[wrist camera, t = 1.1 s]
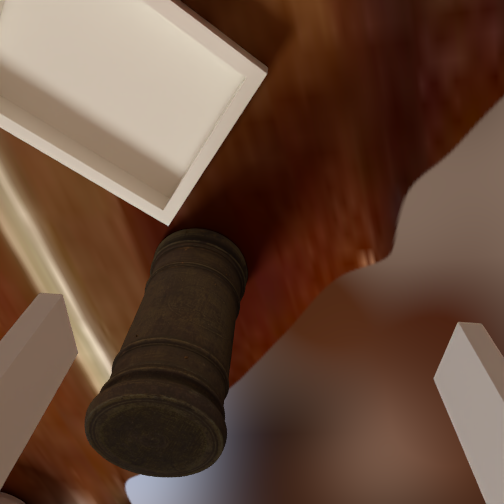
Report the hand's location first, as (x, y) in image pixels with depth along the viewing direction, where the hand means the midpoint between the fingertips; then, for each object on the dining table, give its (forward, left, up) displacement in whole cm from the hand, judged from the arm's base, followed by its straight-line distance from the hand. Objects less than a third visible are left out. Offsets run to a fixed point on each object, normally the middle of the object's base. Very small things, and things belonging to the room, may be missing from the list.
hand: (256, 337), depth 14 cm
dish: (-12, -2, -21) cm, 25 cm away
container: (+2, -13, -22) cm, 25 cm away
